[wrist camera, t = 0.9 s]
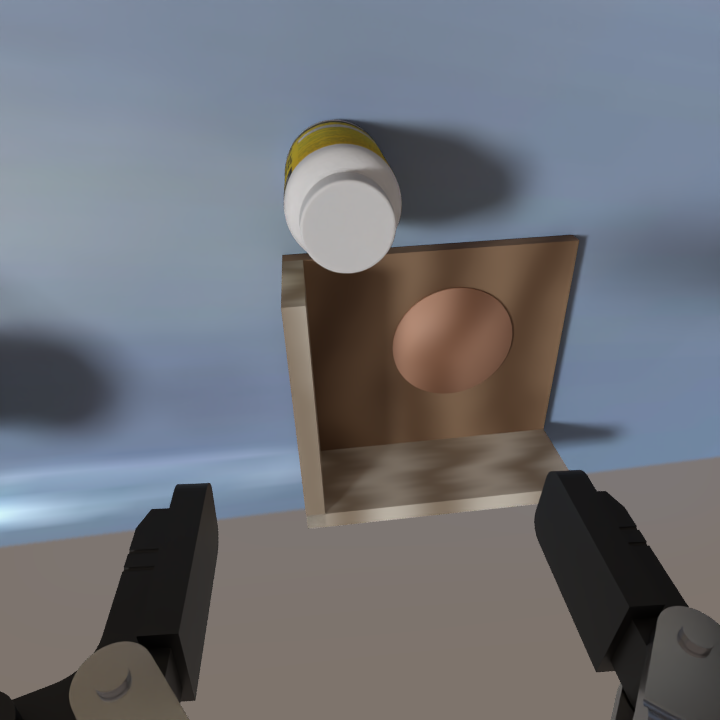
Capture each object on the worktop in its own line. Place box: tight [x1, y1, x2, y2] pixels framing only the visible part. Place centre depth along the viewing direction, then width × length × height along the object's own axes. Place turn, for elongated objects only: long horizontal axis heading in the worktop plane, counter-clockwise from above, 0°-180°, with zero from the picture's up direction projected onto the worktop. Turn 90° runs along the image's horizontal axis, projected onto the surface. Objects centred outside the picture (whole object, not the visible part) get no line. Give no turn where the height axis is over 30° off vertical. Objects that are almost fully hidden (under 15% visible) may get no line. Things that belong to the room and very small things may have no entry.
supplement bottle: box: [284, 120, 402, 273], centre depth 27 cm, size 5×5×10 cm
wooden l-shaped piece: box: [281, 235, 579, 529], centre depth 35 cm, size 18×16×7 cm
